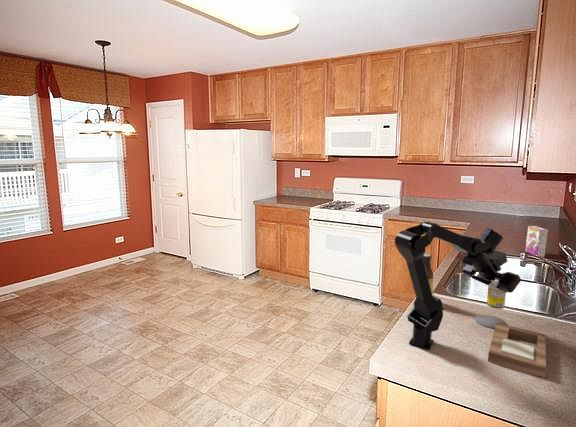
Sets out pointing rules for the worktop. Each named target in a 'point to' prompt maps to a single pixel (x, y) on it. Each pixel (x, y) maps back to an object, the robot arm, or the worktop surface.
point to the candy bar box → (536, 240)
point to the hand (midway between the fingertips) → (499, 288)
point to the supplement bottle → (495, 296)
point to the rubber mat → (489, 321)
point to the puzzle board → (518, 350)
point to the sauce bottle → (428, 270)
